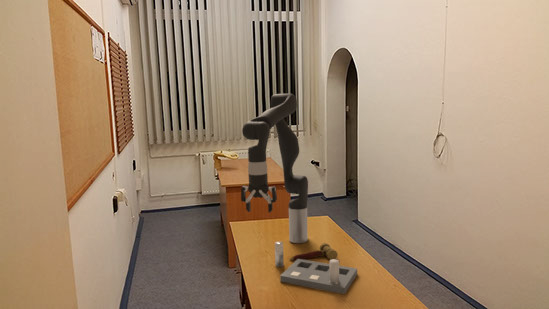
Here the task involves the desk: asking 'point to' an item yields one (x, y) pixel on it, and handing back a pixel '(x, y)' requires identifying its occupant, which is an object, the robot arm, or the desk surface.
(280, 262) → the steel pin
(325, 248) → the gavel
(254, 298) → the desk surface
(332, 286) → the pin board
